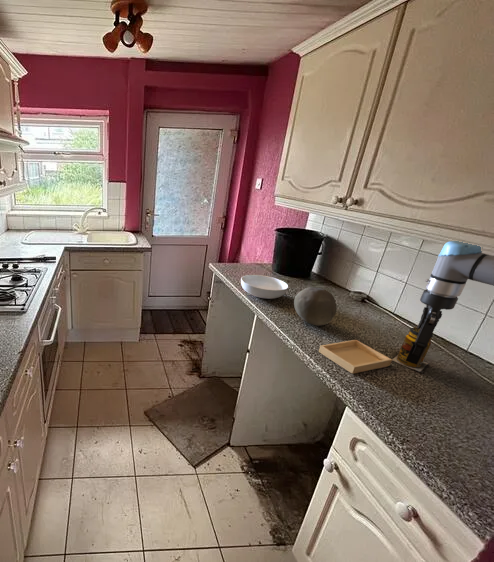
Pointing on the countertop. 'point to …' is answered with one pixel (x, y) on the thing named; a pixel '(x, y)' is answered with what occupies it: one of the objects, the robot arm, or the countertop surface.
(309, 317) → the grey round rock
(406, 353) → the condiment
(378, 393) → the countertop surface
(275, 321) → the countertop surface
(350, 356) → the tray
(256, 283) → the serving bowl
